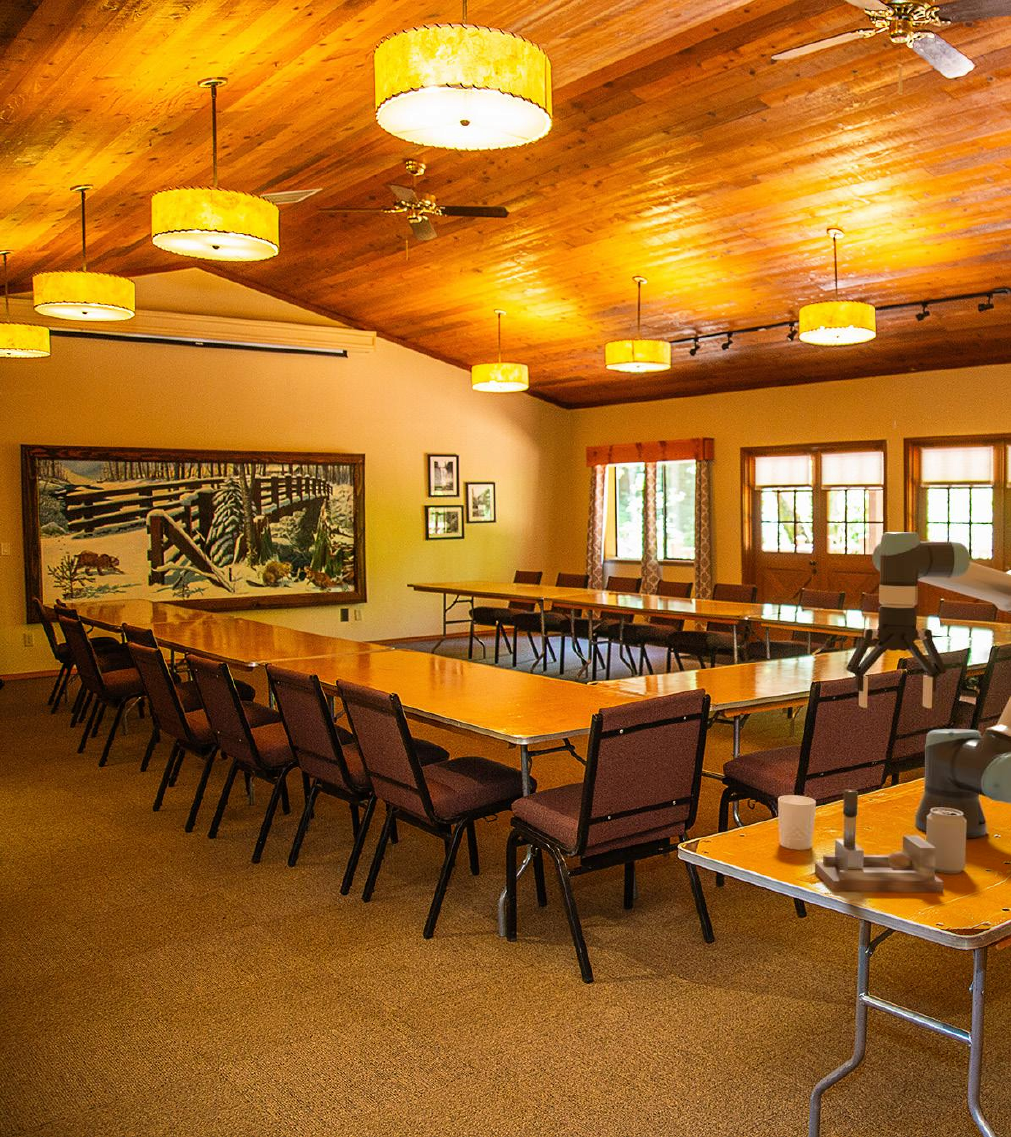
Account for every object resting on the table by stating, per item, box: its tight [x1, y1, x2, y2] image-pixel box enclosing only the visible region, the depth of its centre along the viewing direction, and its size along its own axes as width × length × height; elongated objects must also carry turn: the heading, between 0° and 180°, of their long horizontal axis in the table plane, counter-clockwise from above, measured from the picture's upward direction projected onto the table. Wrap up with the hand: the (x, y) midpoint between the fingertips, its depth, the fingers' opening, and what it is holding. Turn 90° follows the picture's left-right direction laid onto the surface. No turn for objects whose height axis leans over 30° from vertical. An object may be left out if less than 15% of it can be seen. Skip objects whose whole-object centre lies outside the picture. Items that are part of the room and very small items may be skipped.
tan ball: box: [888, 850, 910, 871], centre depth 202 cm, size 4×4×4 cm
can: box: [925, 807, 967, 875], centre depth 210 cm, size 8×8×12 cm
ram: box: [834, 789, 865, 870], centre depth 202 cm, size 3×7×16 cm, turn 1°
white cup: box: [777, 794, 817, 851], centre depth 225 cm, size 8×8×10 cm
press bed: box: [814, 834, 944, 893], centre depth 202 cm, size 21×11×8 cm, turn 91°
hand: (895, 707), depth 217 cm, fingers open, 13 cm apart
